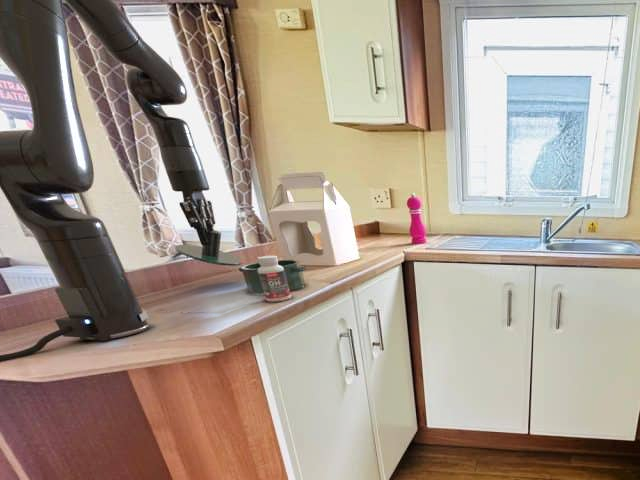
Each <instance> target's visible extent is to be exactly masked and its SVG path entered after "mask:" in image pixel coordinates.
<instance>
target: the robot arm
mask: <svg viewBox="0 0 640 480" xmlns="http://www.w3.org/2000/svg"><path fill="white" fill-rule="evenodd" d="M63 1H64V2H65V4H66V5H67V6H68V7H69V8H70V9H71V10H72V11H73V13H75V14H76V16H77V17H78V18H79V19H80V20H81V22H82V23H83V24H84V25H85V26H86V27H87V29H88V30H89V31H90V32H91V34H92V35H93V36H94V37H95V38H96V39H97V41H98V42H99V43H100V44H101V46H102V47H103V48H104V49H105V51H106V52H107V53H108V54H109V55H110V56H111V58H113V60H115V61H117V62H118V63H120V64H123V65H127V66H132V67H130V68H129V69H128V70H127V72H126V75H125V81H126V86H127V89H128V91H129V92H130V94H131V96H132V98H133V99H134V101H135V102H136V104H137V106H138V107H139V109H140V110H141V112H142V113H143V115H144V117H145V118H146V120H147V122H148V124H149V126H150V127H151V129H152V131H153V135H154V137H155V140H156V142H157V145H158V147H159V153H160V158H161V160H162V164H163V166H164V169H165V172H166V175H167V178H168V180H169V183H170V186H171V190H173V192H176V193H177V192H181V195H182V198H183V201H182V202H180V201H179V206H180V209H181V211H182V213H183V214H184V216H185V218H186V220H187V223H188V225H189V227H190V228H193V229H194V231H196V234H197V237H198V239H199V243H200V246H202V245H203V246H204V245H211V244H212V242H211V239H210V236H209V233H208V230H207V229H211V230H215V225H216V219H215V214H214V208H213V204H212V201H211V200H208V199H207V198H206V197H205V195H204V193H203V191H210V185H209V183H208V179H207V176H206V172H205V169H204V166H203V164H202V160H201V158H200V155H199V153H198V150H197V148H196V145H195V142H194V138H193V136H192V132H191V130H190V127H189V125H188V123H187V121H185V120H184V119H182V118H179V117H175V116H170V115H168V113H166V112H165V110H164V108H163V107H162V106H180V105H182V104H184V103H186V101H187V99H188V90H187V87H186V85H185V82H184V81H183V79H182V77H181V76H180V75H179V74H178V72H177V71H176V70H175V69H174V68H173V67H172V66H171V65H170V64H169V62H167V61H166V60H165V59H164V58H163V57H162V56H161V55H160V54H158V52H157V51H156V50H154V49H153V48H152V47H151V46H150V45H149V44H148V43H147V42H146V41H145V40H144V39H143V38H142V37H141V35H140V34H139V33H138V31H137V30H136V28H135V27H134V26H133V24H132V22H130V20H129V19H128V18H127V16H126V14H125V13H124V11H122V9H121V8H120V7H119V6H118V5H117V4H116V2H115V1H113V0H0V60H1V61H2V62H3V63H4V64H5V66H6V67H7V68H8V69H9V70H10V71H11V73H13V75H14V76H15V77H16V78H17V79H18V81H19V83H21V85H22V87H23V88H24V90H25V92H26V94H27V97H28V100H29V103H30V108H31V112H32V122H33V126H32V129H20V130H19V129H18V130H16V129H15V130H0V190H1V192H2V194H3V195H4V197H5V198H6V200H7V202H8V203H9V205H10V207H11V209H12V210H13V212H14V214H15V216H16V217H17V219H18V220H19V221H20V222H21V223H22V224H23V225H24V226H25V227H26V228H27V229H28V230H29V231H30V232H31V234H32V236H33V237H34V239H35V241H36V242H37V244H38V247H39V249H40V250H41V253H42V254H43V256H44V258H45V260H46V262H47V264H48V266H49V268H50V270H51V272H52V275H54V278H55V280H56V282H57V284H58V286H56V287H55V288H54V291H55V293H56V295H57V297H58V299H59V301H60V303H61V305H62V307H63V309H64V311H65V313H66V314H67V316H64V317H59V318H56V319H54V322H55V323H56V325H57V327H58V329H57V330H55V331H53V332H51V333H49V334H47V335H45V336H43V337H41V338H40V339H39V340H38V341H37V343H35V344H34V345H33V346H30V347H28V348H26V349H22V350H19V351H14V352H10V353H5V354H0V362H4V361H9V360H15V359H18V358H19V359H20V358H21V357H22V358H23V357H27V356H30V355H32V354H34V353H35V354H36V353H38V352H40V351H42V350H43V349H44V348H45V346H46V345H47V344H49V343H50V342H51V341H53V340H55V339H57V338H59V337H66V338H79V340H80V341H96V342H97V341H98V342H106V341H109V340H113V339H119V338H123V337H128V336H131V335H135V334H139V333H141V332H144V331H146V330H148V329H149V328H150V327H151V326H150V324H149V322H148V321H147V320H148V318H149V316H148V313H147V311H146V310H144V311H143V309H142V307H141V304H140V302H139V300H138V298H137V295H136V293H135V291H134V289H133V286H132V284H131V281H130V279H129V278H128V275H127V273H126V271H125V268H124V266H123V264H122V261H121V259H120V257H119V253H117V250H116V248H115V245H114V243H113V241H112V238H111V236H110V234H109V231H108V230H107V229H108V228H107V227H106V225H105V223H104V221H103V220H101V219H100V218H99V217H97V216H93V215H89V214H87V213H83V212H82V211H81V212H80V211H78V210H76V209H75V208H73V207H72V206H71V205H69V204H68V201H66V199H65V197H64V196H63V195H76V194H82V193H86V192H88V191H89V190H90V189H91V188H92V187H93V184H94V180H95V168H94V163H93V158H92V154H91V151H90V147H89V143H88V139H87V134H86V131H85V128H84V124H83V120H82V116H81V113H80V112H81V111H80V108H79V103H78V99H77V92H76V86H75V83H74V81H75V80H74V75H73V70H72V68H73V67H72V61H71V50H70V43H69V36H68V29H67V22H66V17H65V13H64V7H63V6H64V5H63Z"/></svg>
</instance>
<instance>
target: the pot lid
mask: <svg viewBox="0 0 640 480" xmlns="http://www.w3.org/2000/svg"><path fill="white" fill-rule="evenodd" d="M207 230H208V233H209V236H210V239H211V242H212V244H211V245H204V246H203V245H194V244H178V245H176V246H175V247H174V250H175V251H176V252H177V253H179V254H180V255H183V256H185V257H188V258H190V259H192V260H196V261H199V262H203V263H207V264H210V265H211V264H213V265H218V266H228V267H229V266H230V267H236V266H242V265H243V260H242V259H241V258H239V257H238V256H236V255H233V254H231V253H229V252H226V251H223V250H220V247H221V239H222V232H221V231H218V230H216V229H214V230H211V229H207Z"/></svg>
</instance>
